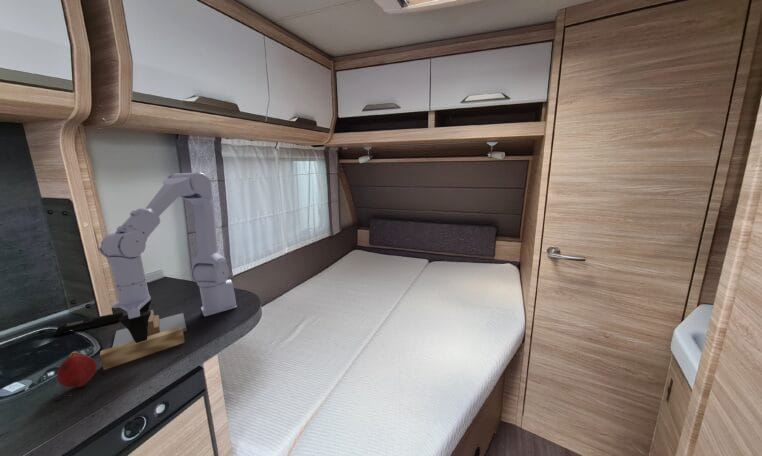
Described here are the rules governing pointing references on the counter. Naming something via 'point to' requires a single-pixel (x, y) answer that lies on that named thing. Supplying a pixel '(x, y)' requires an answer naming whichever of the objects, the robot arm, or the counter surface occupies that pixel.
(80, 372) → the red rounded lump
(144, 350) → the plank
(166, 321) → the fulcrum
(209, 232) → the robot arm
